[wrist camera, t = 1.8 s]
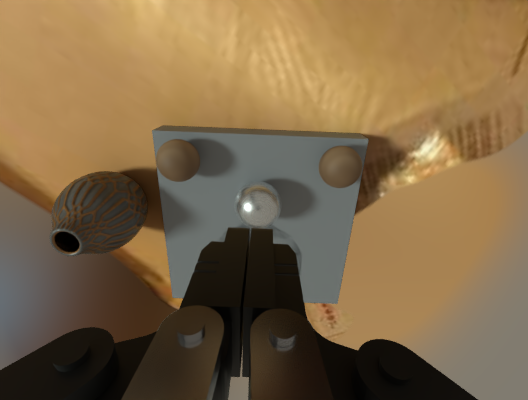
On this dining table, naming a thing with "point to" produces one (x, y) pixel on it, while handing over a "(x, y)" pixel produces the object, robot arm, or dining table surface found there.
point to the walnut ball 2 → (340, 166)
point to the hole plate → (274, 173)
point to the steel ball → (258, 204)
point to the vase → (97, 214)
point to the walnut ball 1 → (178, 160)
